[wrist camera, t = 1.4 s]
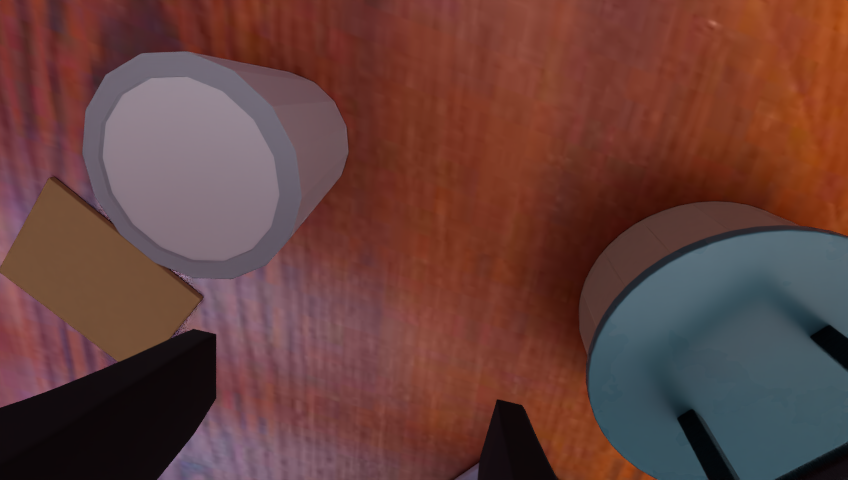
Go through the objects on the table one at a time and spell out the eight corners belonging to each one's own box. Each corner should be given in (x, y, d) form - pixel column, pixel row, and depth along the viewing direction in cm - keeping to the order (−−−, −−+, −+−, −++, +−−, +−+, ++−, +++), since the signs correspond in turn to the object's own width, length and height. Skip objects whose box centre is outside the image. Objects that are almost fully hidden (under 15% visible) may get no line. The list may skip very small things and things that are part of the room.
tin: (873, 313, 19) (976, 380, 15) (672, 433, 23) (711, 514, 19) (723, 150, 18) (792, 175, 14) (532, 305, 21) (542, 362, 17)
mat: (203, 297, 24) (200, 299, 23) (141, 373, 26) (137, 376, 26) (53, 176, 22) (48, 177, 22) (3, 268, 25) (-3, 271, 24)
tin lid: (982, 369, 16) (1230, 523, 10) (702, 514, 19) (780, 679, 14) (785, 148, 14) (960, 198, 9) (522, 352, 18) (535, 471, 13)
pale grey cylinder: (372, 70, 18) (308, 73, 12) (354, 228, 21) (293, 302, 15) (210, 41, 19) (63, 29, 12) (211, 199, 21) (91, 258, 15)
